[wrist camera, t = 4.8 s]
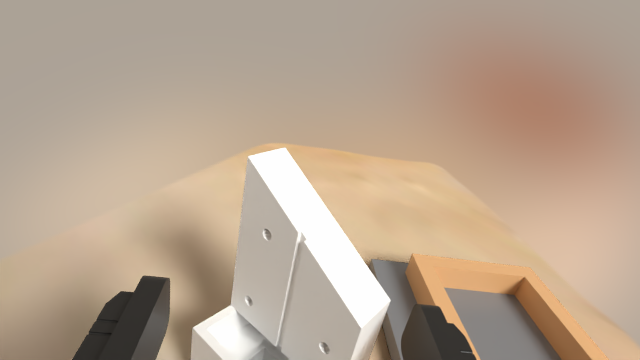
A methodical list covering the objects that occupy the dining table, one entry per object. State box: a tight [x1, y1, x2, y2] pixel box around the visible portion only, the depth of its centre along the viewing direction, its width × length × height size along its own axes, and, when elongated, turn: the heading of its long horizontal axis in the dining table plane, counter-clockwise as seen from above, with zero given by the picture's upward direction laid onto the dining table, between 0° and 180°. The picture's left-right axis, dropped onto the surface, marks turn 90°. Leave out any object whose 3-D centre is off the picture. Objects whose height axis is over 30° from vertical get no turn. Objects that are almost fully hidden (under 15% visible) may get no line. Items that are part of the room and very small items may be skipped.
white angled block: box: [191, 148, 391, 360], centre depth 14 cm, size 4×10×9 cm, turn 50°
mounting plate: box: [369, 254, 609, 360], centre depth 19 cm, size 12×12×2 cm
